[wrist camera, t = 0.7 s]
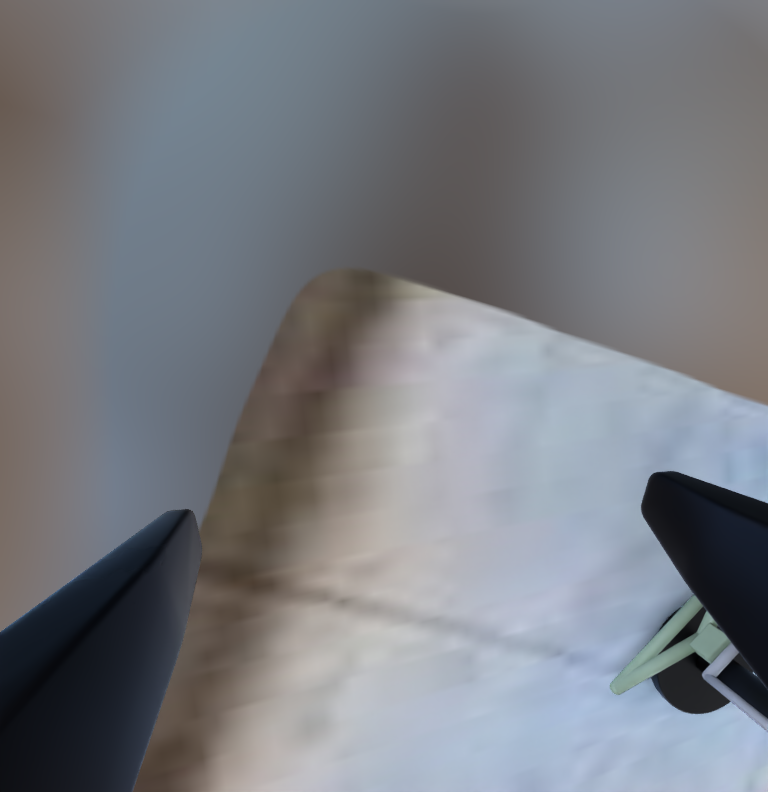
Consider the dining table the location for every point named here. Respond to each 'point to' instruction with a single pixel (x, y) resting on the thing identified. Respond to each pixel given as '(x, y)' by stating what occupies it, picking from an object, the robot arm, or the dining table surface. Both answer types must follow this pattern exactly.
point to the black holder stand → (695, 693)
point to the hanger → (704, 643)
